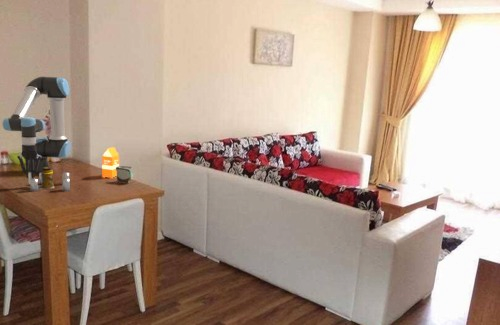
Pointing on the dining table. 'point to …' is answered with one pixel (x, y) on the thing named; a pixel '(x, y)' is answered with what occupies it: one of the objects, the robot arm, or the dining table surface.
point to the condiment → (47, 178)
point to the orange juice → (110, 163)
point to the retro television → (123, 174)
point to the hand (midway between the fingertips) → (30, 183)
